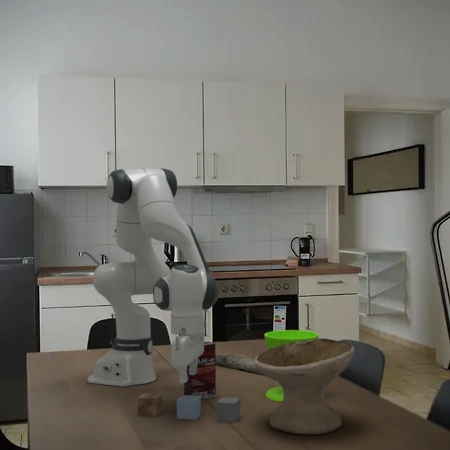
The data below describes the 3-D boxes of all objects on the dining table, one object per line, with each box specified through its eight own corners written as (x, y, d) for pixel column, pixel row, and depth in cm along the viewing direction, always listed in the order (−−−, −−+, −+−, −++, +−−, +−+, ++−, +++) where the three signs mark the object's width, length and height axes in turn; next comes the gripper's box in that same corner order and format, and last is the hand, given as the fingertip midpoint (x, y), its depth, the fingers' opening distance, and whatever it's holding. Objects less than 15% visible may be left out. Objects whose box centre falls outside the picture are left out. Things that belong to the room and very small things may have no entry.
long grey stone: (272, 383, 219) (292, 380, 225) (273, 367, 219) (293, 364, 225) (202, 362, 244) (222, 359, 251) (203, 348, 244) (223, 345, 251)
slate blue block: (177, 418, 176) (176, 399, 176) (183, 413, 181) (183, 395, 181) (195, 420, 175) (194, 400, 174) (200, 414, 179) (200, 396, 179)
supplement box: (191, 401, 192) (190, 346, 192) (183, 397, 197) (182, 343, 197) (217, 397, 197) (216, 343, 197) (209, 393, 201) (208, 340, 201)
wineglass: (258, 400, 193) (257, 337, 192) (273, 387, 208) (272, 329, 207) (313, 404, 187) (312, 340, 187) (324, 390, 202) (323, 331, 202)
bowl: (258, 409, 183) (256, 336, 183) (350, 410, 181) (349, 336, 181) (252, 439, 158) (250, 355, 158) (360, 441, 155) (358, 355, 155)
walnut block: (138, 416, 179) (138, 397, 179) (145, 411, 184) (145, 392, 184) (155, 417, 178) (155, 398, 178) (162, 412, 182) (162, 393, 182)
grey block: (217, 421, 173) (216, 402, 173) (222, 416, 178) (221, 397, 178) (235, 422, 172) (235, 403, 171) (240, 417, 176) (240, 398, 176)
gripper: (188, 332, 167) (189, 388, 167) (207, 321, 187) (208, 370, 187) (164, 332, 168) (165, 387, 168) (186, 320, 188) (187, 369, 188)
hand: (188, 378), depth 177 cm, fingers open, 8 cm apart
